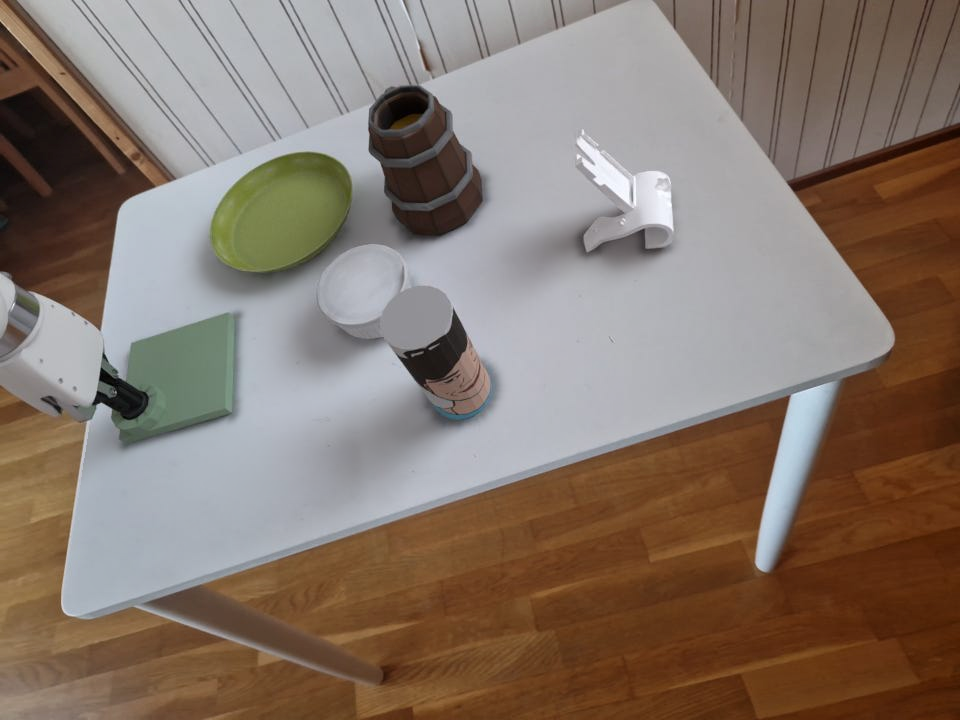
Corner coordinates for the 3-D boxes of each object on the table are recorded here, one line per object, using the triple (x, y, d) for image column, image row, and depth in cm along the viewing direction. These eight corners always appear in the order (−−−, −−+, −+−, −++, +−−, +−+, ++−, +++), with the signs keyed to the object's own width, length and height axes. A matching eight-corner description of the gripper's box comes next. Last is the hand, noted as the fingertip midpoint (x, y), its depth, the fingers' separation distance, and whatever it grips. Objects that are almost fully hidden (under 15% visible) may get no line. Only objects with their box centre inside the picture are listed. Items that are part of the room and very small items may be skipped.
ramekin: (404, 354, 76) (387, 330, 72) (321, 341, 80) (300, 318, 76) (434, 274, 81) (420, 246, 76) (355, 266, 85) (337, 240, 80)
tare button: (152, 418, 79) (142, 412, 77) (128, 425, 79) (118, 419, 78) (155, 394, 81) (145, 388, 79) (131, 401, 81) (121, 395, 80)
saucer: (254, 313, 85) (240, 299, 82) (204, 224, 96) (190, 209, 94) (387, 222, 87) (378, 205, 84) (323, 145, 98) (313, 128, 95)
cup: (453, 432, 70) (403, 363, 57) (420, 389, 73) (366, 316, 61) (504, 392, 70) (466, 317, 58) (469, 352, 74) (426, 272, 61)
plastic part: (673, 247, 74) (673, 172, 64) (583, 254, 76) (570, 183, 67) (670, 195, 77) (670, 116, 68) (584, 203, 80) (572, 129, 70)
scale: (232, 413, 78) (217, 402, 76) (126, 444, 80) (108, 435, 78) (235, 317, 86) (221, 304, 83) (138, 348, 88) (121, 336, 85)
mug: (497, 209, 83) (464, 114, 71) (410, 250, 84) (361, 163, 71) (457, 135, 92) (421, 38, 79) (377, 173, 92) (329, 83, 80)
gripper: (-20, 272, 67) (111, 358, 83) (-56, 400, 60) (95, 469, 75) (45, 249, 66) (165, 341, 82) (16, 377, 59) (154, 452, 74)
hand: (131, 402), depth 78 cm, fingers closed
